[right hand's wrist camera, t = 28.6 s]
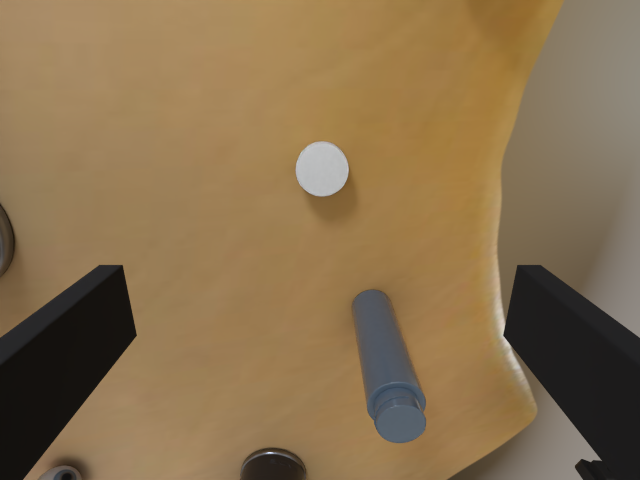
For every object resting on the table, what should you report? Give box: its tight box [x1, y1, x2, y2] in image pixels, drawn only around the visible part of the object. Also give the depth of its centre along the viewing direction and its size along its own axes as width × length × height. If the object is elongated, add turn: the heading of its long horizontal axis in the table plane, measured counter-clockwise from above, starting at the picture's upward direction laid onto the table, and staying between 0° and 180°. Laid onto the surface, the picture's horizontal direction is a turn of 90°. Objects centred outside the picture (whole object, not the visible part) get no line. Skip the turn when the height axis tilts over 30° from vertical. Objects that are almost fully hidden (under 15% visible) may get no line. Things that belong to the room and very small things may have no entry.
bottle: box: [352, 290, 426, 443], centre depth 37 cm, size 5×5×18 cm
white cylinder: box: [296, 141, 349, 196], centre depth 38 cm, size 5×5×2 cm
